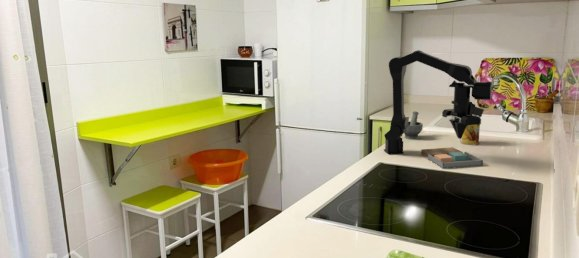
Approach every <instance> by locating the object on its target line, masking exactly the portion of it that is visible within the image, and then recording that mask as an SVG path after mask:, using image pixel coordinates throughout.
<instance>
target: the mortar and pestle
mask: <svg viewBox="0 0 579 258" xmlns="http://www.w3.org/2000/svg"><path fill="white" fill-rule="evenodd" d="M418 115H419V112H418V111H415V110H414V111H412V116H411V119H410V121H408V124H409V127H408V128H407V131H406V132H405V133H403V135H404V138H405V139H408V140H418V139H419V134H421V133H422V130H423V123H422V122H419V121H418Z"/></svg>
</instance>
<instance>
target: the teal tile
mask: <svg viewBox="0 0 579 258" xmlns="http://www.w3.org/2000/svg"><path fill="white" fill-rule="evenodd" d="M462 152H463V151H461V152H450V153H449V156H451V157H453V160H454V161H461V160H467V155H466V154H464V152H463V153H462Z"/></svg>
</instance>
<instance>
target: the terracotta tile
mask: <svg viewBox="0 0 579 258" xmlns="http://www.w3.org/2000/svg"><path fill="white" fill-rule="evenodd" d="M434 157H435V158H436V159H438V160H440V161H441V162H443V163H447V162H453V157H451V156H449V155H447V154H439V155H434Z"/></svg>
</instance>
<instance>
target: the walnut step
mask: <svg viewBox="0 0 579 258" xmlns="http://www.w3.org/2000/svg"><path fill="white" fill-rule="evenodd" d="M450 152H462V153H464V152H463V151H461V150H459V149H457V148H455V147H453V146H452V147H438V148H436V147H435V148H428V149H427V148H426V149H421V151H420V153H421V155H422V156H423V157H426V158H427V159H428V155H431V156H433V157H434V155H439V154H447V155H449V153H450Z"/></svg>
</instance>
